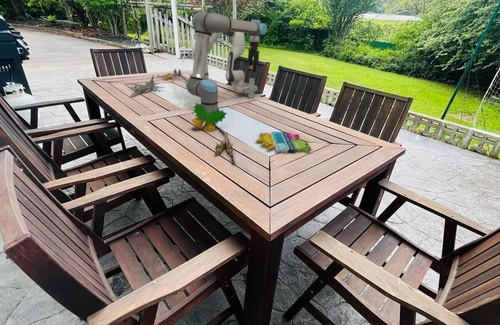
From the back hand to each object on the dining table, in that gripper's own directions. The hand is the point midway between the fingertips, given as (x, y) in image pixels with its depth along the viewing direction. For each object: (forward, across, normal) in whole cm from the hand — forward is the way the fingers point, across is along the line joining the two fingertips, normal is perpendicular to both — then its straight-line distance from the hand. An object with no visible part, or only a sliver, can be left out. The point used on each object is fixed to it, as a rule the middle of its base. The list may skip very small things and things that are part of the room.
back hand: (251, 91), depth 228 cm
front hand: (-1, 0, -16) cm, 16 cm away
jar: (-1, 0, +6) cm, 7 cm away
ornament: (+47, -65, +7) cm, 81 cm away
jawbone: (+79, -73, +7) cm, 107 cm away
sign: (+85, -38, +7) cm, 93 cm away
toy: (-100, -36, +6) cm, 106 cm away
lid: (-1, 0, -20) cm, 21 cm away
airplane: (-54, -76, +6) cm, 94 cm away
